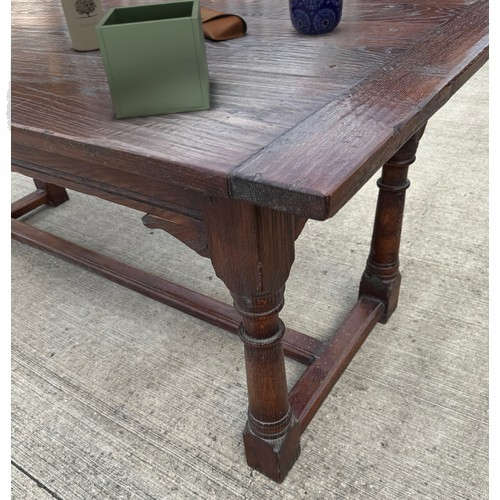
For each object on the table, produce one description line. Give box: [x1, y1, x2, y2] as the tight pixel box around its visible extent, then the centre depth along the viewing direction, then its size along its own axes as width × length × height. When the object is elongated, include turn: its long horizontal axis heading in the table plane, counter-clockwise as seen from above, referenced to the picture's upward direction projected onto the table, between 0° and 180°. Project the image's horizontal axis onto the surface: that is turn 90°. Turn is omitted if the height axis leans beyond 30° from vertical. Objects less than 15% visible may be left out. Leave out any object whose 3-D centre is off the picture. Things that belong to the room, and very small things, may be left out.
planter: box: [288, 0, 344, 36], centre depth 102 cm, size 11×11×11 cm
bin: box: [95, 0, 211, 120], centre depth 76 cm, size 14×14×12 cm
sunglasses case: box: [200, 5, 248, 41], centre depth 112 cm, size 18×7×7 cm
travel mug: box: [59, 0, 105, 52], centre depth 106 cm, size 8×8×18 cm
